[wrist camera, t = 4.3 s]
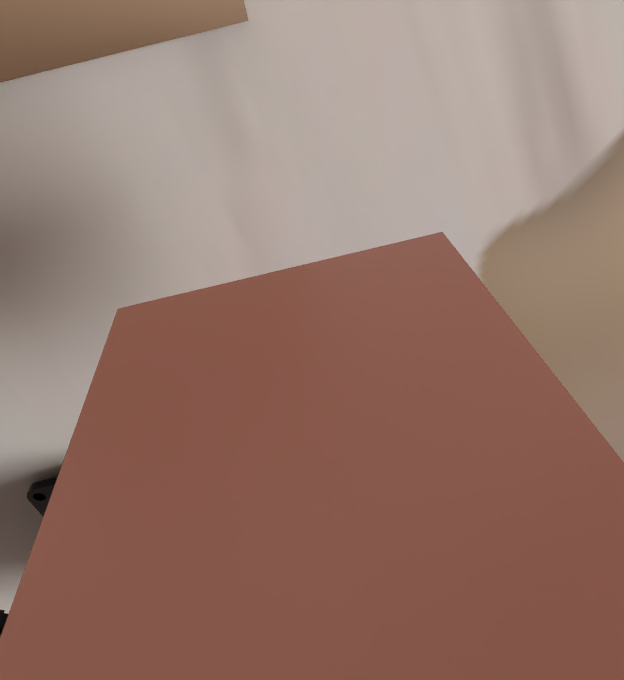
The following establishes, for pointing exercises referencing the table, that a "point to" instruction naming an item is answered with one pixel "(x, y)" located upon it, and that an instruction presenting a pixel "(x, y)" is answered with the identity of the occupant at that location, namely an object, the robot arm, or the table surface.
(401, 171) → the table surface
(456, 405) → the pink rectangular block
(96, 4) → the taupe inverted t block
